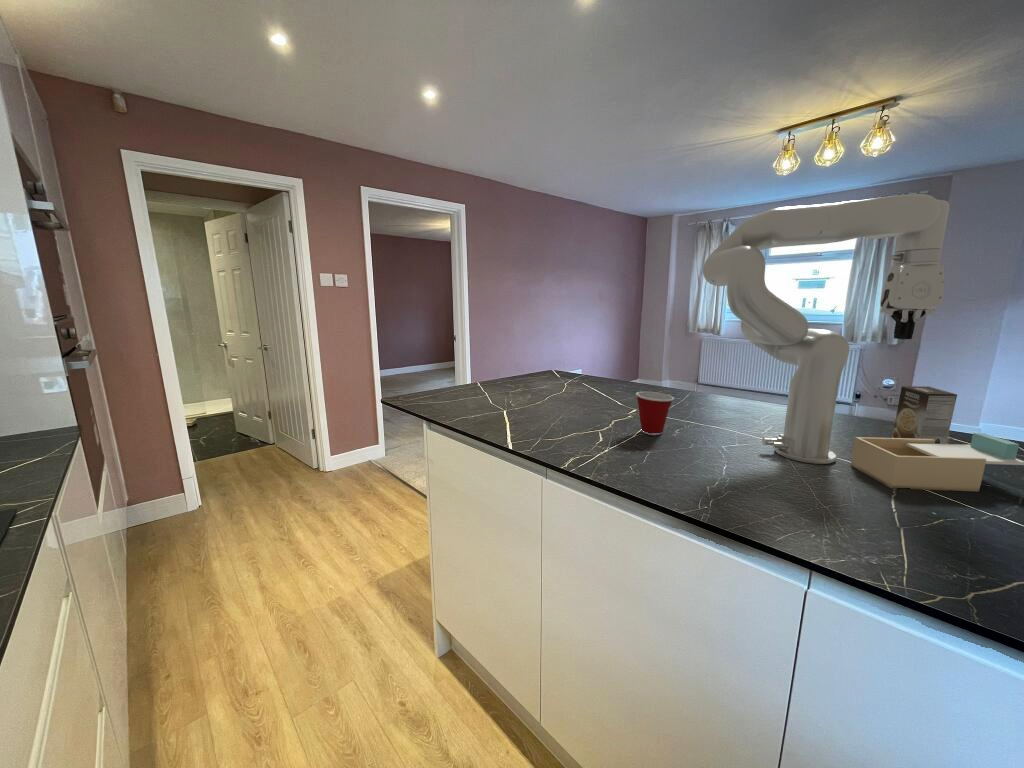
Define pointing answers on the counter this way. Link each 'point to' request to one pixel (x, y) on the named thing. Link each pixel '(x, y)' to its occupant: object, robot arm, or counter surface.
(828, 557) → the counter surface
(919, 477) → the box
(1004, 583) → the counter surface
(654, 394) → the plastic cup
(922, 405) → the coffee box
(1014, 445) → the lid
